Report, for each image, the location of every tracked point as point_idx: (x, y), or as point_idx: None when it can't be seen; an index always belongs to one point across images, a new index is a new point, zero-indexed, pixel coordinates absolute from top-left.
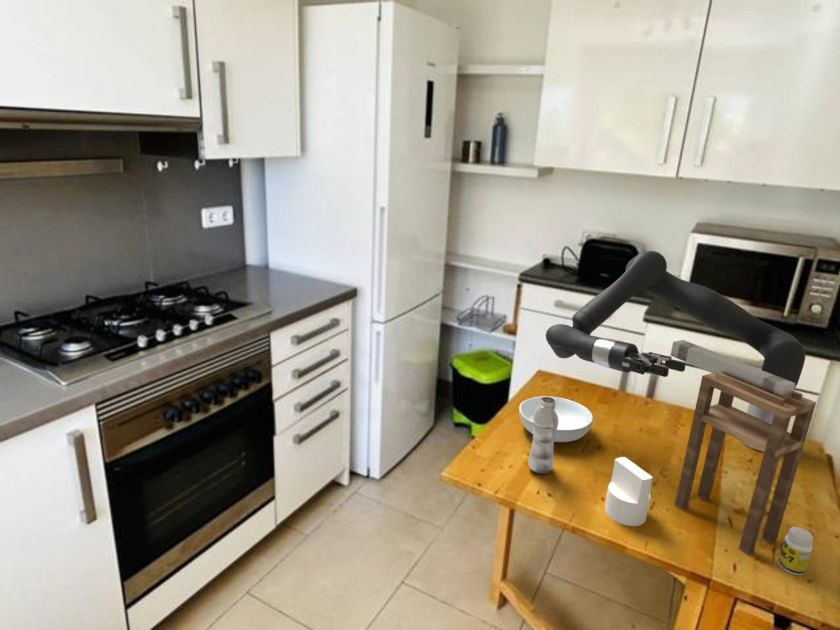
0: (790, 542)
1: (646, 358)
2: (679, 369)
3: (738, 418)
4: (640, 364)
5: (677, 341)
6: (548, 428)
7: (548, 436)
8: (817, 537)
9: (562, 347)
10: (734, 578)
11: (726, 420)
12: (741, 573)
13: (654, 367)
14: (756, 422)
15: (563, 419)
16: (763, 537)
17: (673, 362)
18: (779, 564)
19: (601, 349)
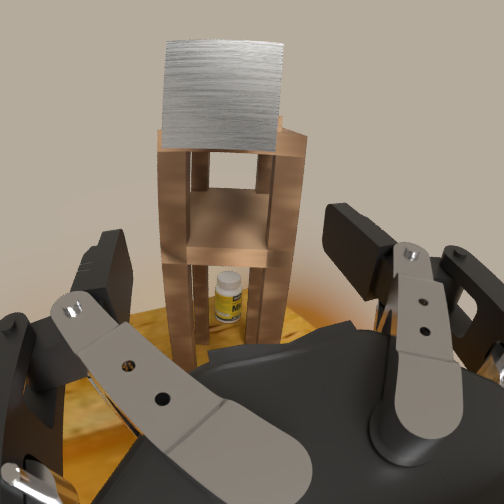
0: (240, 288)
1: (403, 292)
2: (130, 279)
3: (220, 218)
4: (474, 262)
5: (243, 42)
6: None
7: None
8: (145, 320)
9: None
10: (303, 328)
11: (257, 221)
12: (290, 328)
13: (392, 239)
14: (202, 208)
15: None
16: (208, 341)
17: (115, 275)
18: (238, 318)
19: None
